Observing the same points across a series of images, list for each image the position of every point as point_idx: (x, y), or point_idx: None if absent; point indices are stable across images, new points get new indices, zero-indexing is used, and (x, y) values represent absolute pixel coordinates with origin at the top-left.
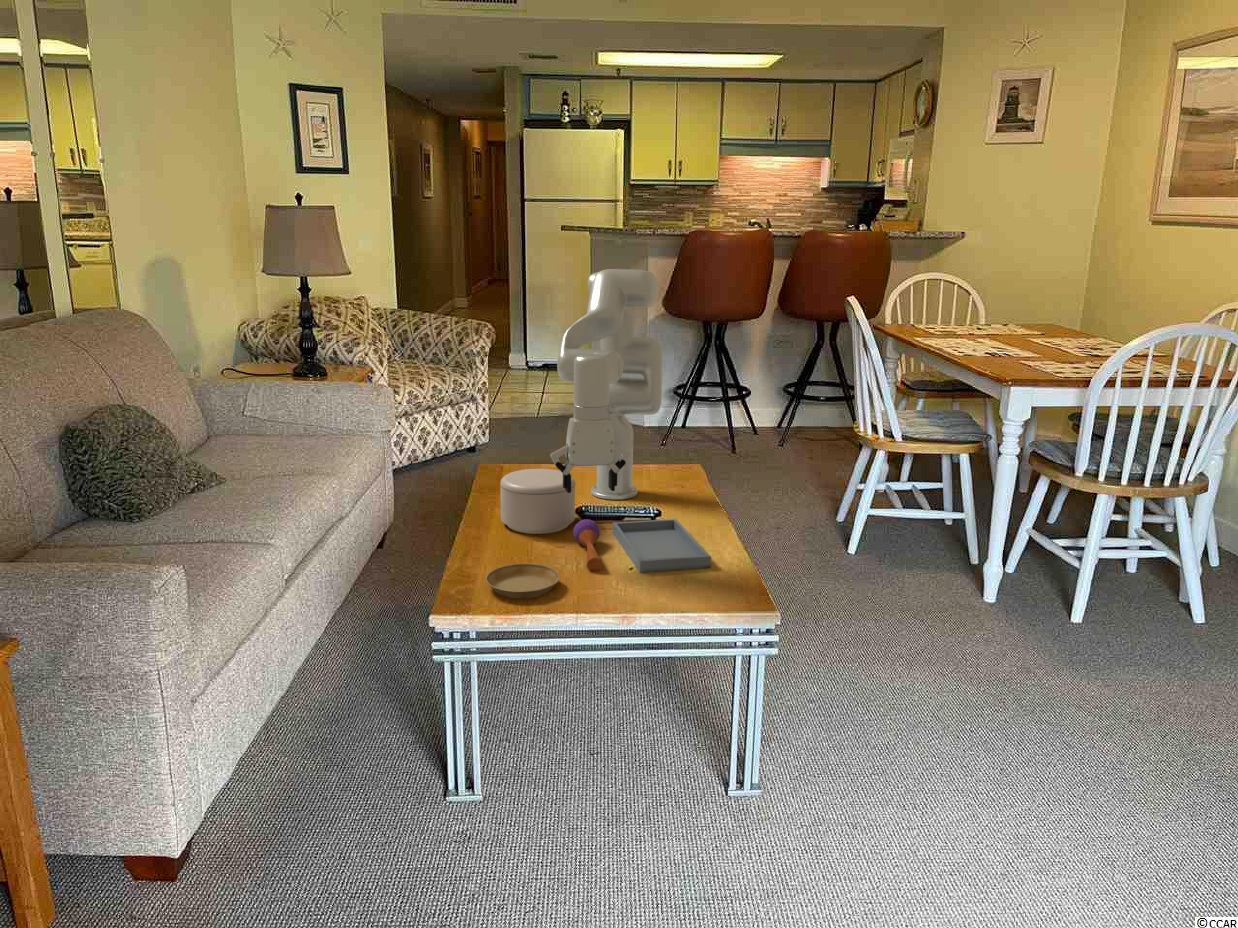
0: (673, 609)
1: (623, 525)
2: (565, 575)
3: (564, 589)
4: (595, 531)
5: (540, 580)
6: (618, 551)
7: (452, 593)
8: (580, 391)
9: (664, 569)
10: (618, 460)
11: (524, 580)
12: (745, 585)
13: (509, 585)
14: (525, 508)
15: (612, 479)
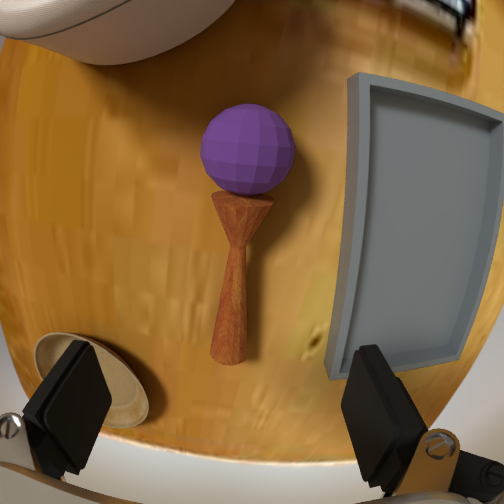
0: (313, 457)
1: (387, 89)
2: (164, 349)
3: (162, 397)
4: (272, 186)
5: (117, 363)
6: (324, 231)
7: (14, 357)
8: None
9: None
10: (476, 493)
11: None
12: (442, 401)
13: None
14: (47, 48)
15: (360, 455)
